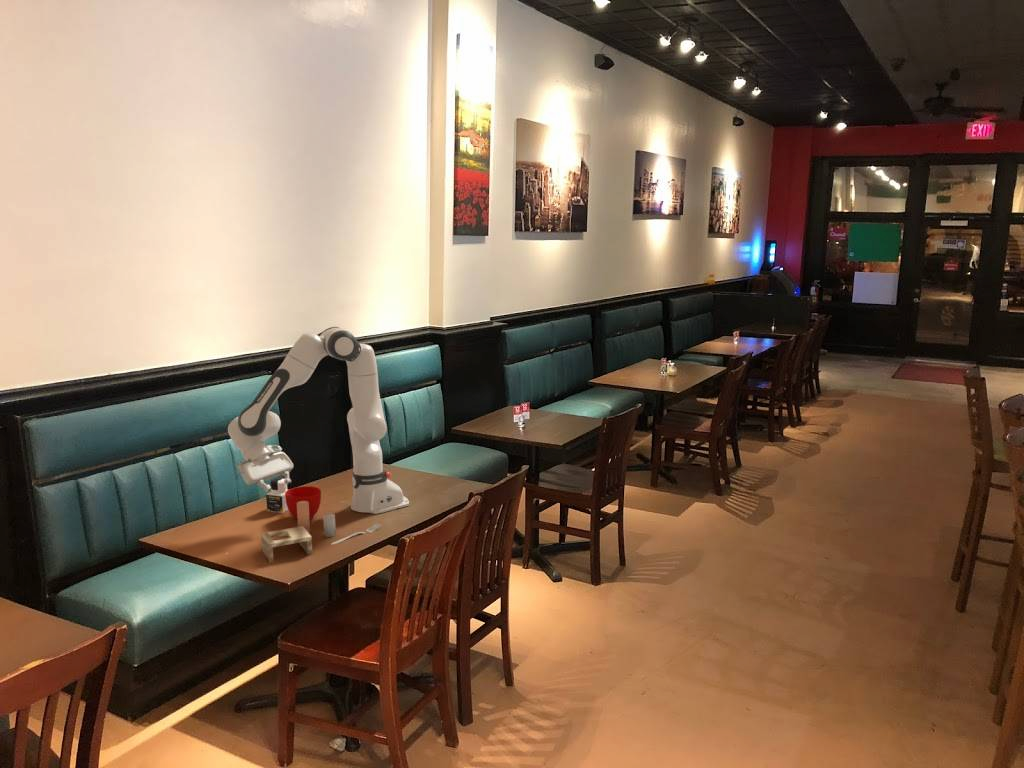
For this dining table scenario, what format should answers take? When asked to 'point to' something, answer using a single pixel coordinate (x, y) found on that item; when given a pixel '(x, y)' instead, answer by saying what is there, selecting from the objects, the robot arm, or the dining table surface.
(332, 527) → the short dowel
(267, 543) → the bridge
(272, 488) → the medicine bottle
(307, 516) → the long dowel
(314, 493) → the ceramic cup
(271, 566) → the dining table surface
